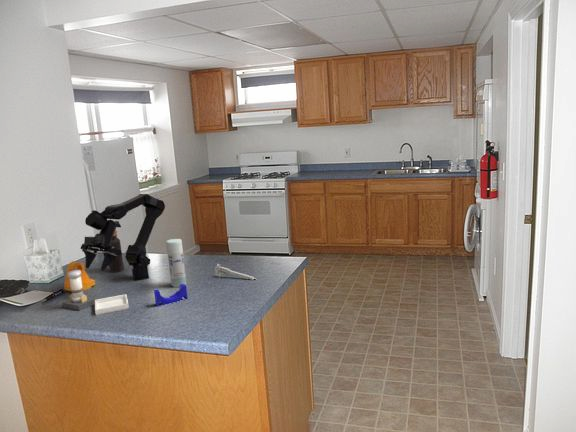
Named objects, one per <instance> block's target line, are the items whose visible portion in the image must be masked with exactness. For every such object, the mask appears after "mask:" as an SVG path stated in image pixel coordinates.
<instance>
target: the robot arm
mask: <svg viewBox="0 0 576 432" xmlns="http://www.w3.org/2000/svg"><path fill="white" fill-rule="evenodd" d="M140 206H142V207H144V208H145V209H144V211H145V212H144V213H145V217H144V220H143V222H142V225H141V227H140V230H139V232H138V234H137V237H136V239H135V242H134V243H133V244H129V245H128V246H127V248H126V249H127V250H125V256H124V257H125V259H126V262H127V264H128V266H132V268H131V274H132V279H134V281H141V280H144V279H145V280H146V279H150V276H149V270H148V266H149V265H151V259H150V258H149V257H148V256H147V247H146V246H147V243H148V241H149V238H150V236H151V234H152V232H153V231H152V230H153V228H154V226H155V223H156V220H157V219H159V218H160V217H161V215H163V212H164V211H165V209H166V205H165V202H164V200H162V199H159V198H157V197H154V196H151V195H150V194H148V193H139V194H138V195H137V196H134V197H132V198H130V199H127V200H125V201H123V202H121V203H115V204H111V205H107V206H105V208H104V210H103V211H101V212H99V211H98V210H91V212H90V213H89V214H88V215H87V216H86V218H85V221H84V222H85V225H86V226H88V227H91V228H93V229H95V230H98V231H99V232H98V233H96V234H94V236H84V241H83V242H84V243H82V244H81V245H80V248H79V249H80V250H81V251H82V253H83V254H84V255H85V269H89V268H90V267H91V265H92V264H93V262H94V261H95V258H96V257H97V253H98V252H101V253H103V260H102V264H101V268H100V271H102V272H103V271H105V270H106V269H107V268H109V264H110V263H111V262H113V261H114V260H115V259H116V258H118V257H117V256H121V253H122V254H123V252H122V248H121V249H119V248H116V247H114V246H110V245H111V242H112V241H114V240H115V239H114V238H113V236H114V233H115V230H116V231H117V229H116V228H121V227H122V225H121V223H120V221H118V220H121V219H122V218H124V217H125V216H126V215H127V214H128V212H130V211H132V210H134V209H136V208H138V207H140ZM114 220H115V221H114Z"/></svg>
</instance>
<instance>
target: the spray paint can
mask: <svg viewBox="0 0 576 432" xmlns="http://www.w3.org/2000/svg"><path fill="white" fill-rule="evenodd" d="M165 244H166V252H167V259H168V268H169V274H170V283H171V287H172V286H173V287H172V288H180V284H185V285H186V286H187V276H186V269H185V258H184V249H183V241H182V239H181V238H171V239H168V240H166V241H165Z"/></svg>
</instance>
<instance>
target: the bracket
mask: <svg viewBox="0 0 576 432" xmlns="http://www.w3.org/2000/svg"><path fill="white" fill-rule="evenodd" d="M85 269H86V265H84V264H83V262H78V261H71V262H69V264H68V265H67V270H66V273H65V274H66V275H65V279H64V283H63V284H64V290H66V291H69V292H71V285H70V279H69V278H68V272H70V271H73V270H81V281H82V287H83V291H86V290H89V289H91V288H92V287H93V286H95V285H96V280H95V279H92V278H90V277H89V275H88V274H87V272H86V270H85Z"/></svg>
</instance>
